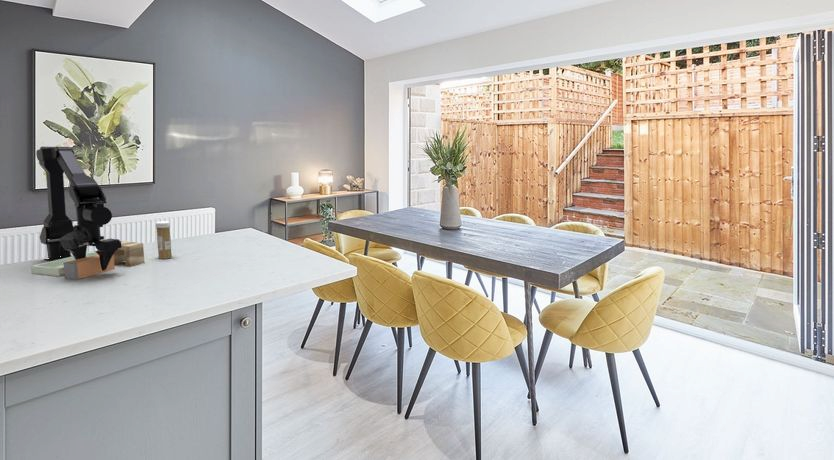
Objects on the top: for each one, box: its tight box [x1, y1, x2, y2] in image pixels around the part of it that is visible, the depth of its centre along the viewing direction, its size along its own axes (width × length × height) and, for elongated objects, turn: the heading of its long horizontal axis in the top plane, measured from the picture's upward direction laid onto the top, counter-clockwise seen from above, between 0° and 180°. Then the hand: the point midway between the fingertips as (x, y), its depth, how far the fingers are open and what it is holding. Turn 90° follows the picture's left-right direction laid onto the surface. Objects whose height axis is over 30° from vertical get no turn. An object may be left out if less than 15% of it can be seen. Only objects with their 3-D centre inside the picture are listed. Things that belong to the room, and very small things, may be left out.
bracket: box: [114, 240, 145, 267], centre depth 161 cm, size 9×6×7 cm, turn 77°
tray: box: [30, 251, 98, 277], centre depth 155 cm, size 11×22×2 cm, turn 167°
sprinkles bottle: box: [155, 220, 173, 260], centre depth 170 cm, size 5×5×14 cm
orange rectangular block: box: [63, 254, 116, 281], centre depth 148 cm, size 4×14×5 cm, turn 167°
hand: (92, 269), depth 149 cm, fingers open, 8 cm apart
